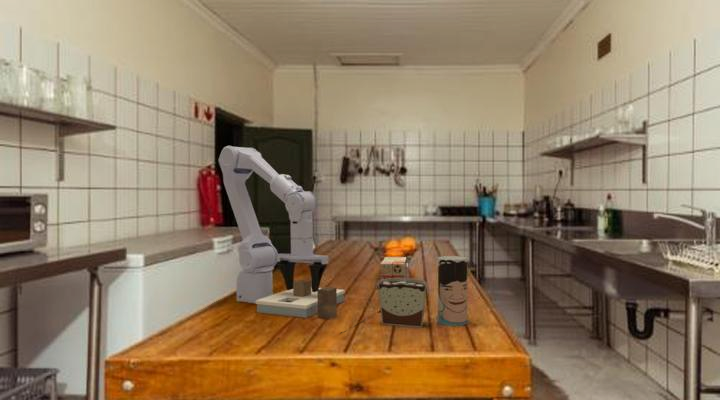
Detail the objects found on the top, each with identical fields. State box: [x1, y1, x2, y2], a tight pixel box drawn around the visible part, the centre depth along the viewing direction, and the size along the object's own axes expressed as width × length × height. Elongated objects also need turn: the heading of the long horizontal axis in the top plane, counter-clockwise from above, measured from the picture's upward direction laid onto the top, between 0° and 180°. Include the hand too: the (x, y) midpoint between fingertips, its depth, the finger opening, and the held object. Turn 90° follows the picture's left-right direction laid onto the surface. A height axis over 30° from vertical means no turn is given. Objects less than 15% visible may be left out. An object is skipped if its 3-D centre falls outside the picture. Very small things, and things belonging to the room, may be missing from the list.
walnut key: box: [317, 286, 338, 320], centre depth 125 cm, size 3×4×8 cm
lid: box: [255, 279, 346, 309], centre depth 136 cm, size 15×21×4 cm
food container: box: [375, 277, 429, 328], centre depth 122 cm, size 12×6×10 cm, turn 71°
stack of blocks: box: [379, 256, 410, 280], centre depth 145 cm, size 21×6×12 cm, turn 171°
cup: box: [437, 255, 468, 327], centre depth 122 cm, size 7×7×15 cm
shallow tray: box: [256, 293, 345, 319], centre depth 136 cm, size 14×20×3 cm
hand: (302, 290), depth 136 cm, fingers open, 7 cm apart
